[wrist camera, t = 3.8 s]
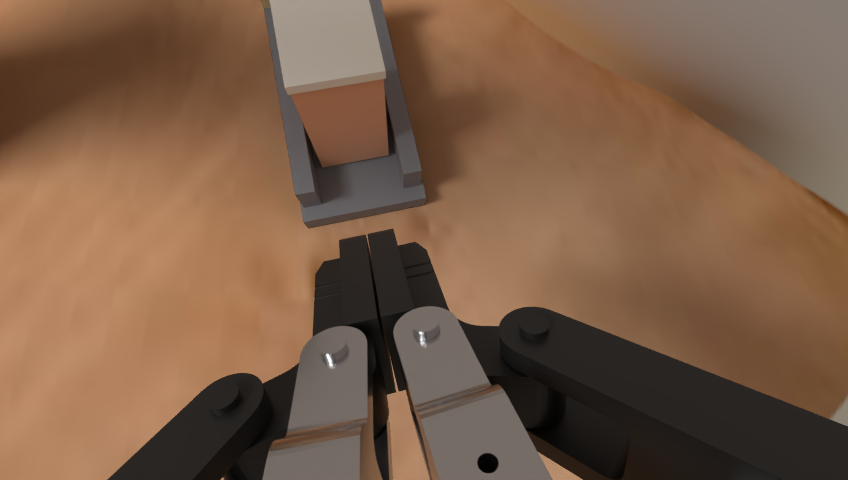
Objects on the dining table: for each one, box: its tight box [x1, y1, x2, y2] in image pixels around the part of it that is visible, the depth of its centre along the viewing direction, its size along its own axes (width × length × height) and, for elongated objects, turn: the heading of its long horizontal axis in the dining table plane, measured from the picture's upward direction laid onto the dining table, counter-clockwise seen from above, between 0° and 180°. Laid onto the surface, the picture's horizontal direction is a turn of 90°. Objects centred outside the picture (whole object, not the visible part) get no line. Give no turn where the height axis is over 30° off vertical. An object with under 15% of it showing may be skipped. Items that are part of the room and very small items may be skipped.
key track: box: [261, 0, 426, 228], centre depth 30 cm, size 16×8×6 cm, turn 13°
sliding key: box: [270, 0, 389, 168], centre depth 26 cm, size 5×5×10 cm
